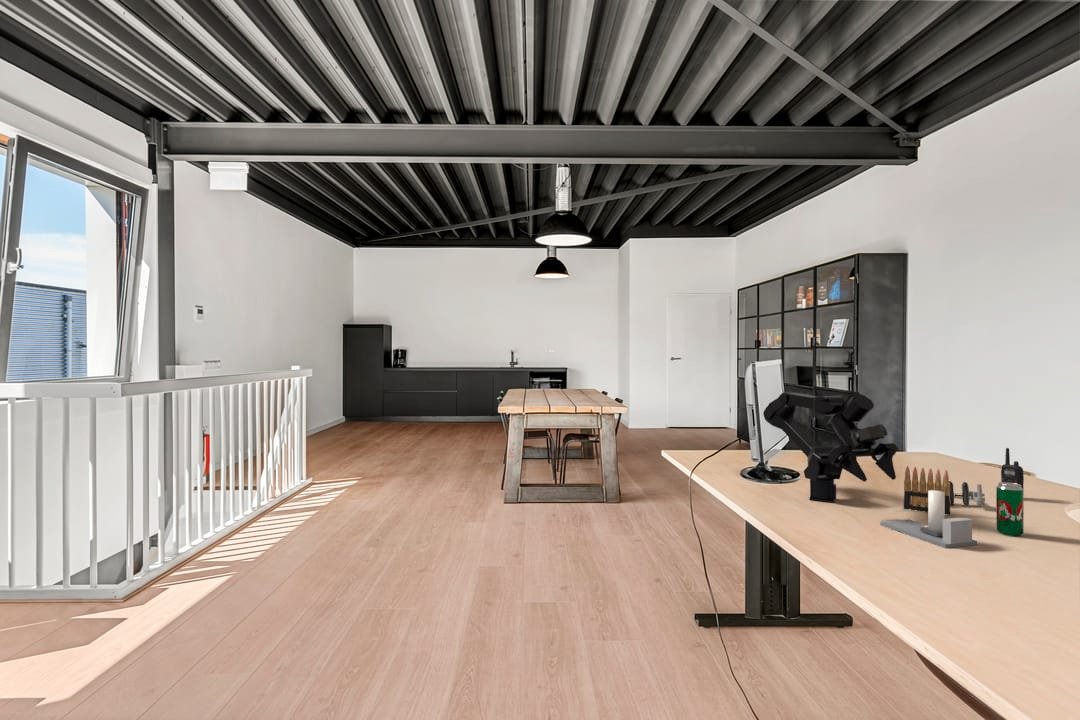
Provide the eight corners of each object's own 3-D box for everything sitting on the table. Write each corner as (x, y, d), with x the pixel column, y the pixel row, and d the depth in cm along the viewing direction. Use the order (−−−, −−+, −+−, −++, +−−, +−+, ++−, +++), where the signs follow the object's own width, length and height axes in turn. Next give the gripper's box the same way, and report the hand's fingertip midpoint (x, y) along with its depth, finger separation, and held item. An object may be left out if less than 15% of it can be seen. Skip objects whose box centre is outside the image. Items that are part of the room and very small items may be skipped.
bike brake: (991, 509, 156) (974, 503, 174) (990, 484, 157) (973, 481, 175) (932, 504, 162) (921, 499, 180) (931, 480, 163) (920, 477, 181)
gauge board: (880, 525, 145) (880, 502, 145) (909, 522, 147) (909, 500, 147) (945, 548, 127) (945, 522, 127) (977, 544, 129) (977, 519, 129)
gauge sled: (920, 530, 136) (920, 489, 136) (943, 528, 138) (943, 488, 138) (937, 536, 132) (937, 494, 132) (961, 534, 134) (961, 492, 134)
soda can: (1017, 531, 139) (1017, 482, 139) (1027, 537, 134) (1027, 486, 134) (992, 529, 140) (992, 481, 140) (1001, 535, 136) (1001, 485, 136)
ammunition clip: (950, 513, 155) (950, 469, 155) (950, 515, 154) (950, 470, 154) (904, 507, 161) (903, 465, 161) (903, 509, 160) (903, 466, 160)
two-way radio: (998, 496, 173) (998, 447, 173) (1006, 495, 174) (1006, 446, 174) (1020, 501, 168) (1020, 450, 167) (1028, 499, 169) (1028, 449, 169)
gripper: (836, 415, 153) (868, 464, 142) (893, 413, 157) (928, 460, 147) (814, 439, 161) (844, 488, 150) (870, 437, 165) (902, 484, 155)
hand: (880, 479), depth 150 cm, fingers open, 9 cm apart
